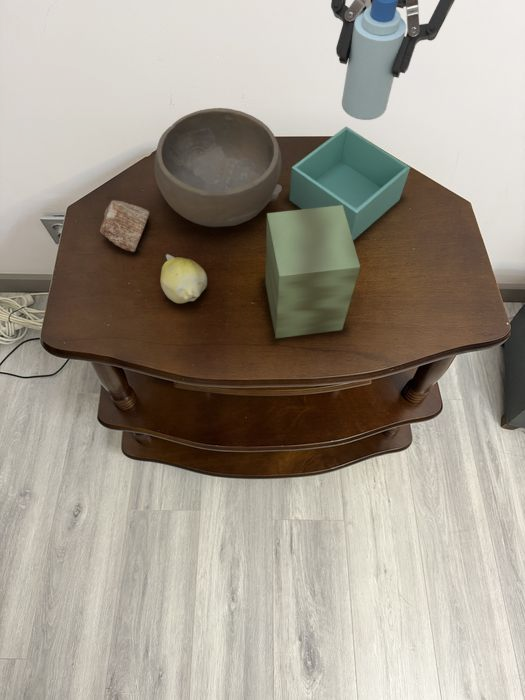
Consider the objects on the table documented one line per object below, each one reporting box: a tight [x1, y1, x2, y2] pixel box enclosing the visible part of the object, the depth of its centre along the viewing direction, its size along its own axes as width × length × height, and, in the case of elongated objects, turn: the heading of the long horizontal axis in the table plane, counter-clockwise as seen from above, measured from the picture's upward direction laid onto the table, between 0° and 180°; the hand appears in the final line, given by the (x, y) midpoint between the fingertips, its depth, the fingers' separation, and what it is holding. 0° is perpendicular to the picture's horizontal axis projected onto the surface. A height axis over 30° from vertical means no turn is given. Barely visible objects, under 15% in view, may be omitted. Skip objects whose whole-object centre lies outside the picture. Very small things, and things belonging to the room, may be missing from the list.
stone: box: [99, 200, 150, 253], centre depth 76 cm, size 7×6×5 cm
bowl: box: [153, 107, 283, 228], centre depth 76 cm, size 17×18×10 cm
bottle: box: [341, 0, 407, 121], centre depth 60 cm, size 6×6×13 cm
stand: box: [264, 205, 361, 339], centre depth 66 cm, size 9×9×14 cm
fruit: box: [159, 253, 208, 304], centre depth 71 cm, size 6×6×10 cm
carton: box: [288, 126, 411, 241], centre depth 78 cm, size 12×12×6 cm
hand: (369, 68), depth 60 cm, fingers closed on bottle, 5 cm apart
